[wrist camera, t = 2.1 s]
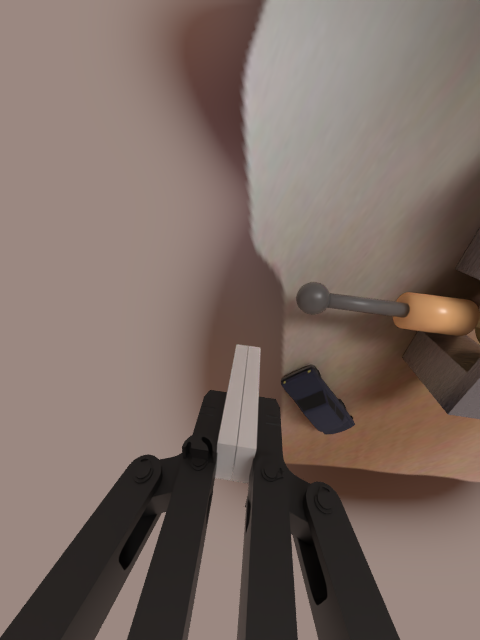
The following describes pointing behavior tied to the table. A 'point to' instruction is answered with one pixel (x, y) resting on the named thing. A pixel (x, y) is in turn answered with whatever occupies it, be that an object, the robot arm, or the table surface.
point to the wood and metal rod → (400, 309)
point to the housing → (451, 357)
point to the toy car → (317, 400)
